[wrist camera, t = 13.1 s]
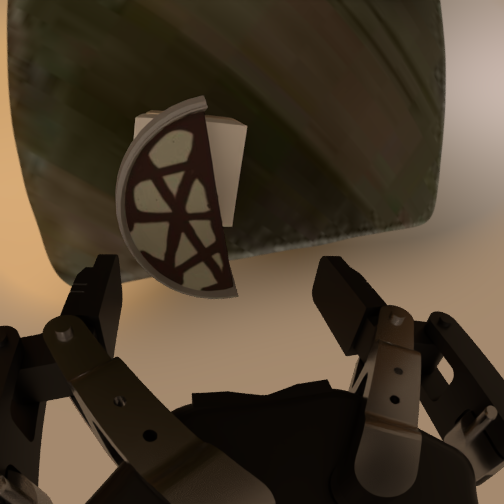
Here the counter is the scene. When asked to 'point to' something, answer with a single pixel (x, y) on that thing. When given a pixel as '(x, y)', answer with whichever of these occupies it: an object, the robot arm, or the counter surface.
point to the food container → (175, 204)
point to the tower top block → (219, 158)
